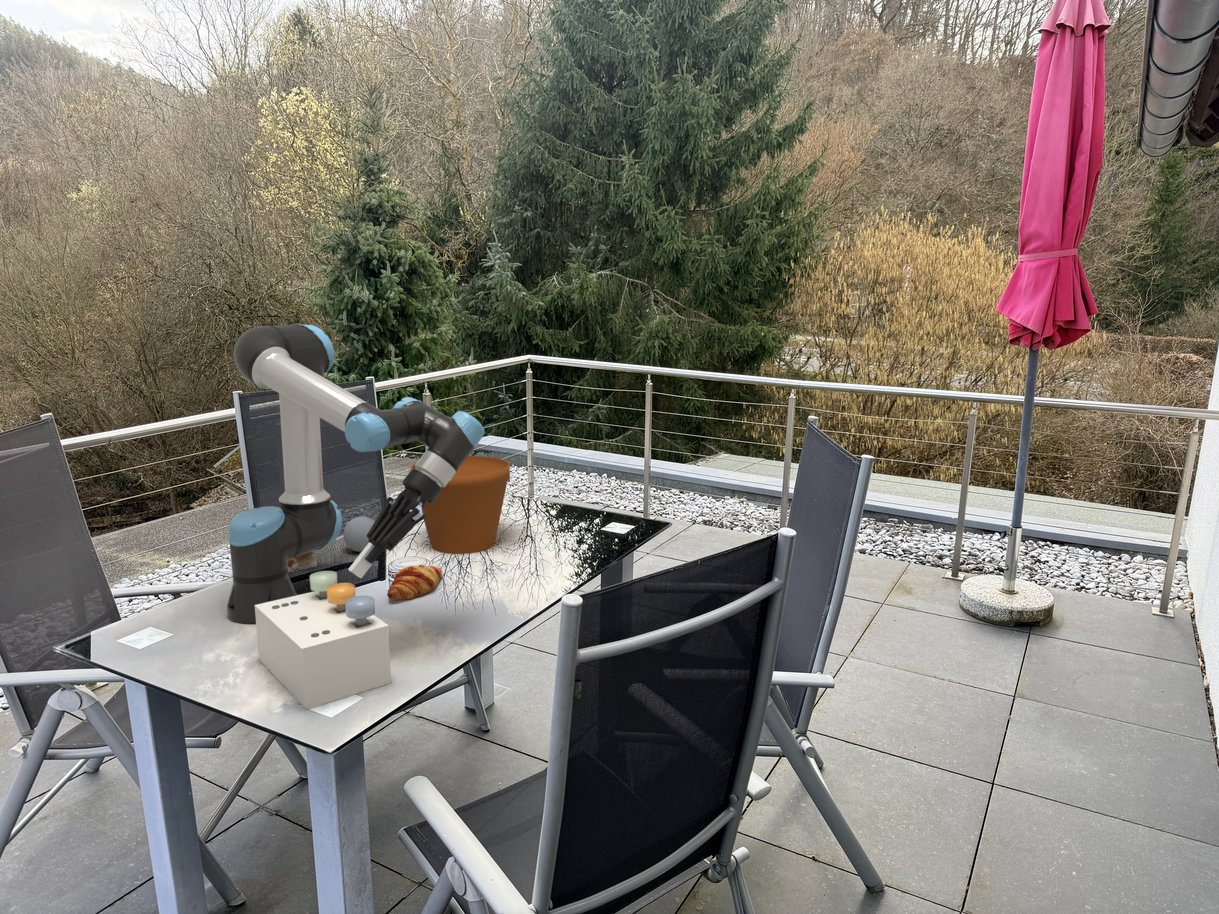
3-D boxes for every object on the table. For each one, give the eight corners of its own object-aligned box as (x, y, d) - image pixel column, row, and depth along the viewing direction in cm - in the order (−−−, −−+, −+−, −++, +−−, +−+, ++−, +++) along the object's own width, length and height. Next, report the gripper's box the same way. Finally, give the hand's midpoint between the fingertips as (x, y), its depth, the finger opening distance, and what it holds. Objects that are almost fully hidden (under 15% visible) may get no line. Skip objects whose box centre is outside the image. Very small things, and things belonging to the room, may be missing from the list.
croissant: (431, 588, 213) (418, 560, 213) (460, 575, 209) (447, 547, 209) (381, 615, 193) (367, 585, 193) (412, 602, 189) (398, 570, 189)
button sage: (332, 594, 169) (330, 569, 168) (342, 601, 165) (340, 575, 164) (307, 600, 166) (305, 574, 165) (317, 607, 162) (315, 581, 161)
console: (337, 638, 173) (333, 586, 171) (391, 682, 154) (388, 624, 151) (259, 659, 163) (254, 604, 161) (306, 709, 143) (301, 647, 141)
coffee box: (286, 574, 212) (281, 515, 208) (273, 569, 216) (268, 510, 212) (318, 566, 219) (314, 508, 215) (305, 561, 223) (301, 504, 219)
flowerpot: (495, 562, 223) (493, 478, 218) (398, 556, 227) (394, 474, 222) (522, 532, 250) (520, 457, 245) (434, 528, 254) (432, 454, 249)
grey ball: (387, 547, 235) (386, 513, 233) (369, 558, 225) (367, 523, 223) (356, 544, 237) (354, 511, 235) (337, 554, 228) (335, 520, 226)
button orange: (350, 607, 163) (348, 580, 162) (360, 614, 159) (359, 588, 158) (324, 613, 159) (322, 586, 158) (334, 621, 155) (332, 594, 154)
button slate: (369, 620, 156) (367, 593, 155) (380, 629, 152) (379, 601, 151) (342, 627, 153) (340, 600, 151) (353, 636, 149) (352, 608, 148)
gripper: (456, 495, 163) (382, 593, 156) (425, 483, 173) (354, 575, 166) (431, 472, 159) (354, 572, 152) (401, 462, 169) (327, 555, 161)
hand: (354, 574), depth 159 cm, fingers closed
